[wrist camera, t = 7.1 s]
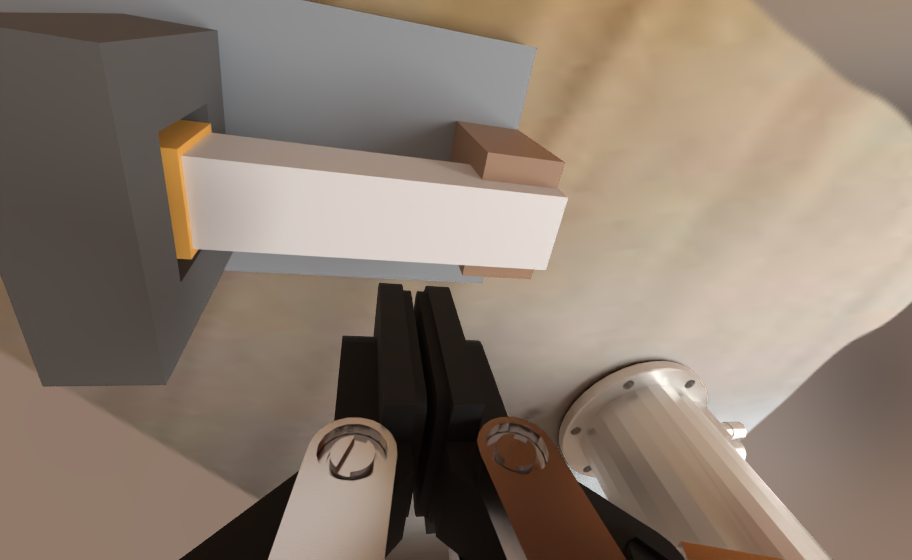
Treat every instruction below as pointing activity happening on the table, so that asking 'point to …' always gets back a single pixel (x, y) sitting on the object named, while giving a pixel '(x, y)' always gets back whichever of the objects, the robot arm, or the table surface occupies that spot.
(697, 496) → the robot arm
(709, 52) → the table surface
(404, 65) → the pipe stand
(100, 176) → the collar
